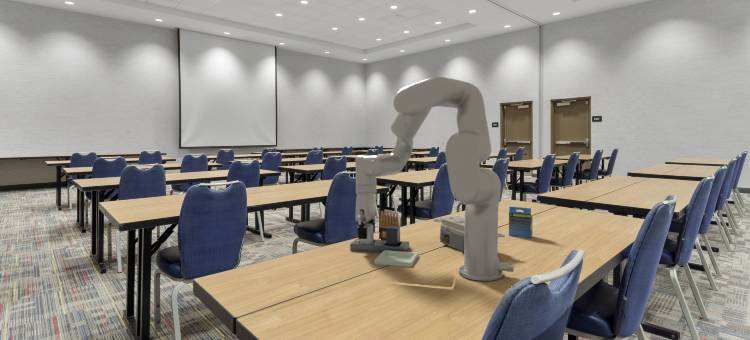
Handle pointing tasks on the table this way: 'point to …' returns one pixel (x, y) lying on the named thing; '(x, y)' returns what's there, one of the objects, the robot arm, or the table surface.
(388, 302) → the table surface
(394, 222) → the ammunition clip
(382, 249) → the dark grey holder base
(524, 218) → the label tape box
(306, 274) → the table surface
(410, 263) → the tray
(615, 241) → the table surface
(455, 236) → the electrical outlet
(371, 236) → the grey rectangular block
